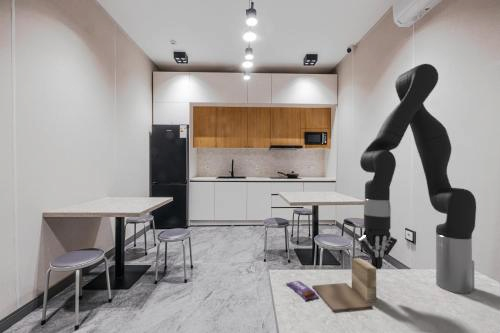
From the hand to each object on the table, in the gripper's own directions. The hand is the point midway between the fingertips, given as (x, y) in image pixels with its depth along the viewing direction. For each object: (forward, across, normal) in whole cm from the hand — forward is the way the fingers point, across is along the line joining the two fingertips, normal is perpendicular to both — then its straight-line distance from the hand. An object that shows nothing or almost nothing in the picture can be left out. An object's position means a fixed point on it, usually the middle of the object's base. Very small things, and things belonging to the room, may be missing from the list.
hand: (376, 267), depth 77 cm
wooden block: (+8, +5, 0) cm, 9 cm away
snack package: (+9, +23, -5) cm, 25 cm away
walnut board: (+8, +12, 0) cm, 15 cm away
